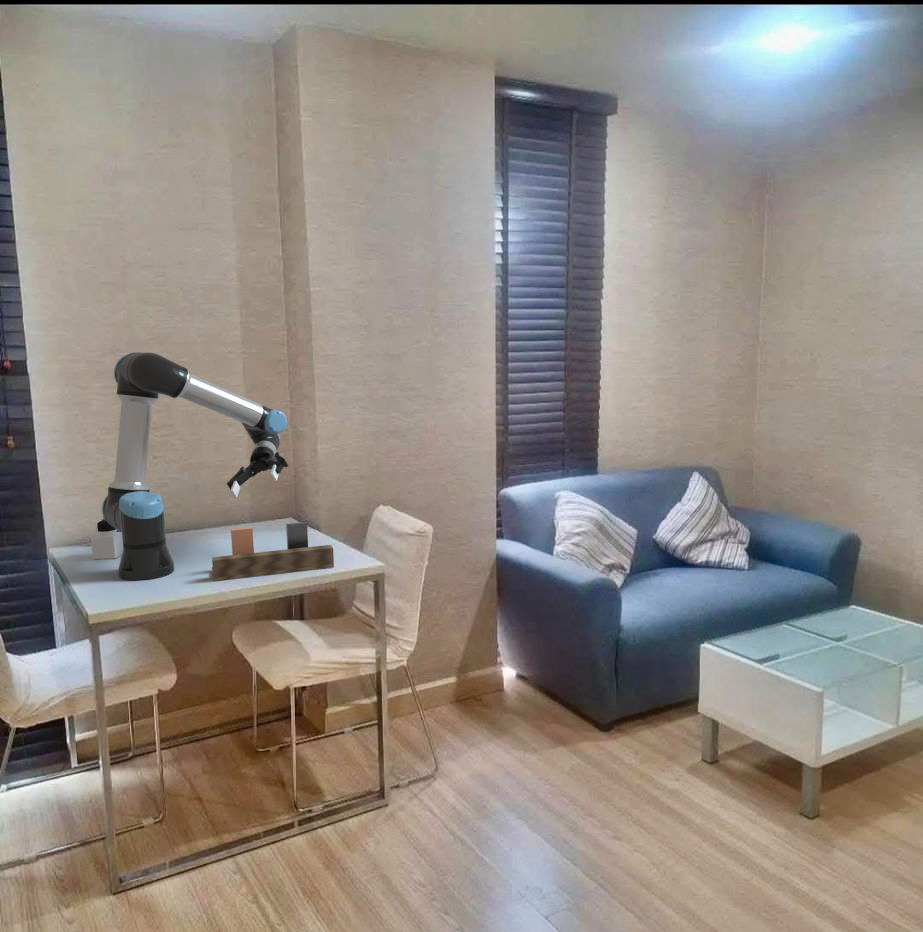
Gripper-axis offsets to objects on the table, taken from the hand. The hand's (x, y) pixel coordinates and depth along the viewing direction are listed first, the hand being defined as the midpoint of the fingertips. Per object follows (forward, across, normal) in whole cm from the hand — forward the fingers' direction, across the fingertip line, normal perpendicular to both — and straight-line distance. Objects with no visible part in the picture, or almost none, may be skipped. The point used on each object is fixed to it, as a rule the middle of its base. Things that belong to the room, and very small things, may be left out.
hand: (253, 486), depth 235 cm
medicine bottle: (-5, +56, -5) cm, 56 cm away
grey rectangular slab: (+11, -4, -23) cm, 26 cm away
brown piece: (+17, +2, -20) cm, 26 cm away
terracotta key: (+15, +9, -16) cm, 24 cm away
